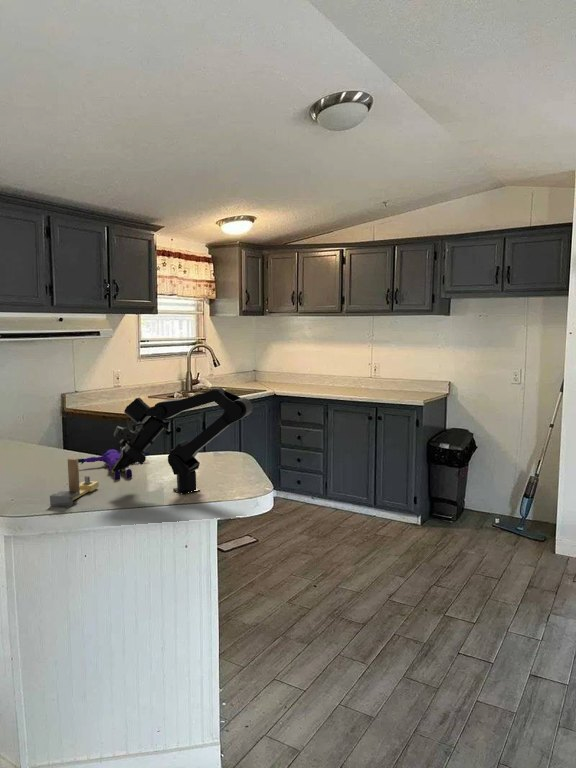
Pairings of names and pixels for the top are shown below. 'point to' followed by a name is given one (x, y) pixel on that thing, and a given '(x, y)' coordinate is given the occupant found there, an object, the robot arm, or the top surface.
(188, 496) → the top surface
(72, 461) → the link
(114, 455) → the toy
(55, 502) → the keeper
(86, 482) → the peg
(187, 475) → the robot arm
